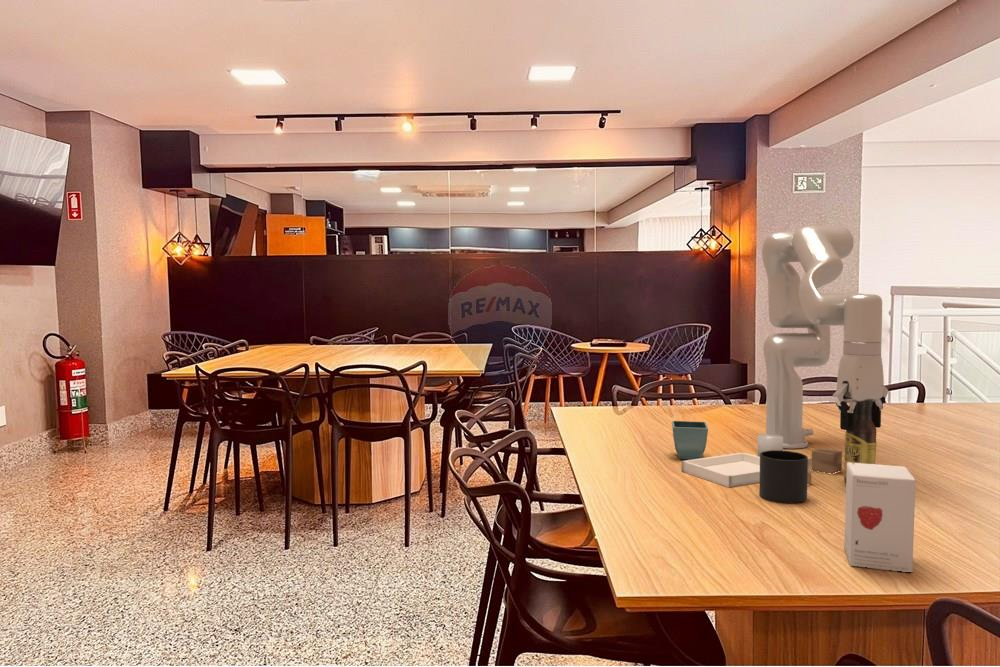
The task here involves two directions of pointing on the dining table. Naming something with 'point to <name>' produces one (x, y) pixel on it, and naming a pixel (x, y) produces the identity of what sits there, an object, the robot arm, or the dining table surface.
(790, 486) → the mug
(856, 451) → the sauce bottle
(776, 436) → the white rounded block
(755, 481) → the tray
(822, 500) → the dining table surface
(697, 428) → the flower pot
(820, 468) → the walnut cube
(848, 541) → the supplement box
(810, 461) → the beech block
